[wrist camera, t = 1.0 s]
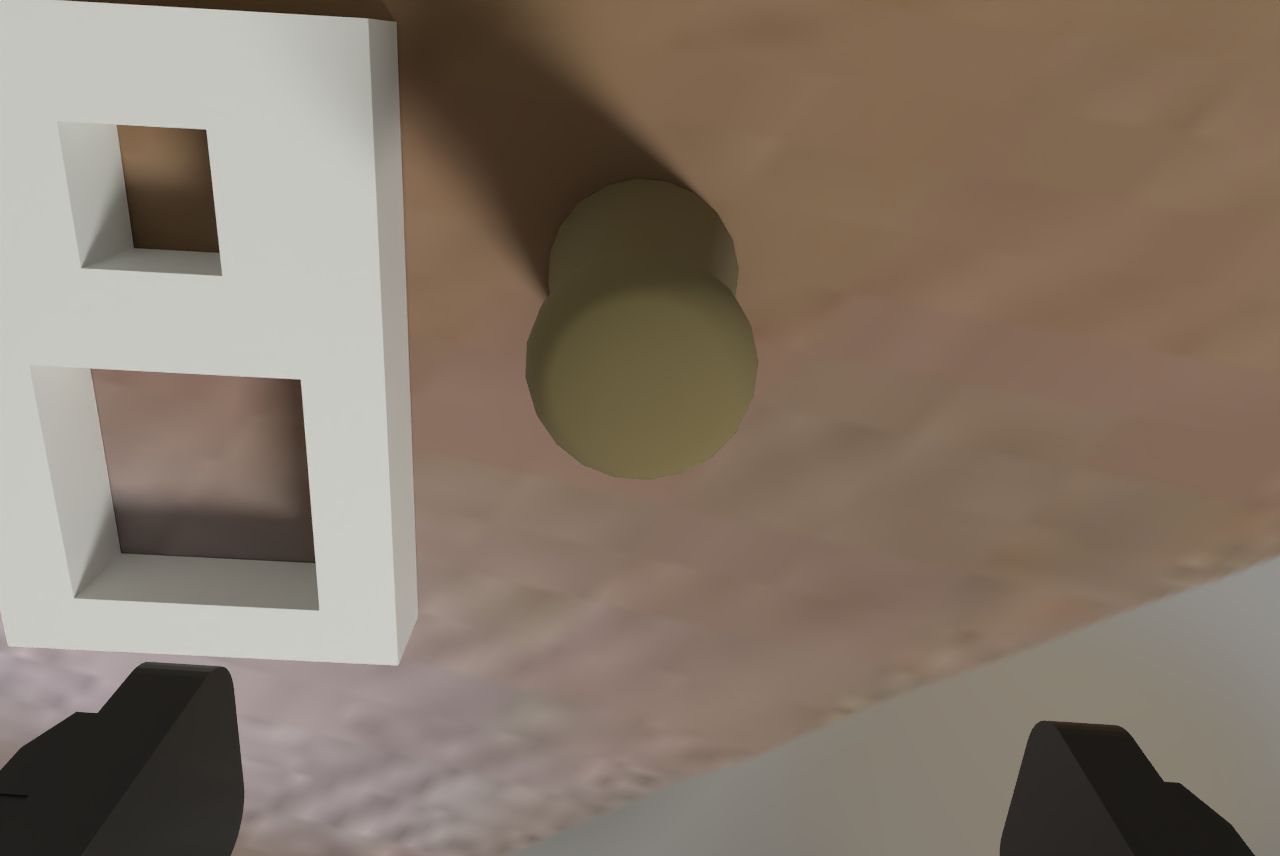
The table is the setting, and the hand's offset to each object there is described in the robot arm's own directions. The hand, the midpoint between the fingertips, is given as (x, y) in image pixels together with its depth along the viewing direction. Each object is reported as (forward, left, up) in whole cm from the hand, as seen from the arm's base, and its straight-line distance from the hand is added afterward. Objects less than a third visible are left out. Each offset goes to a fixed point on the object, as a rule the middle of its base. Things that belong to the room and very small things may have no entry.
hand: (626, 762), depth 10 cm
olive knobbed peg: (0, 0, -22) cm, 22 cm away
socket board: (+14, +3, -22) cm, 26 cm away
